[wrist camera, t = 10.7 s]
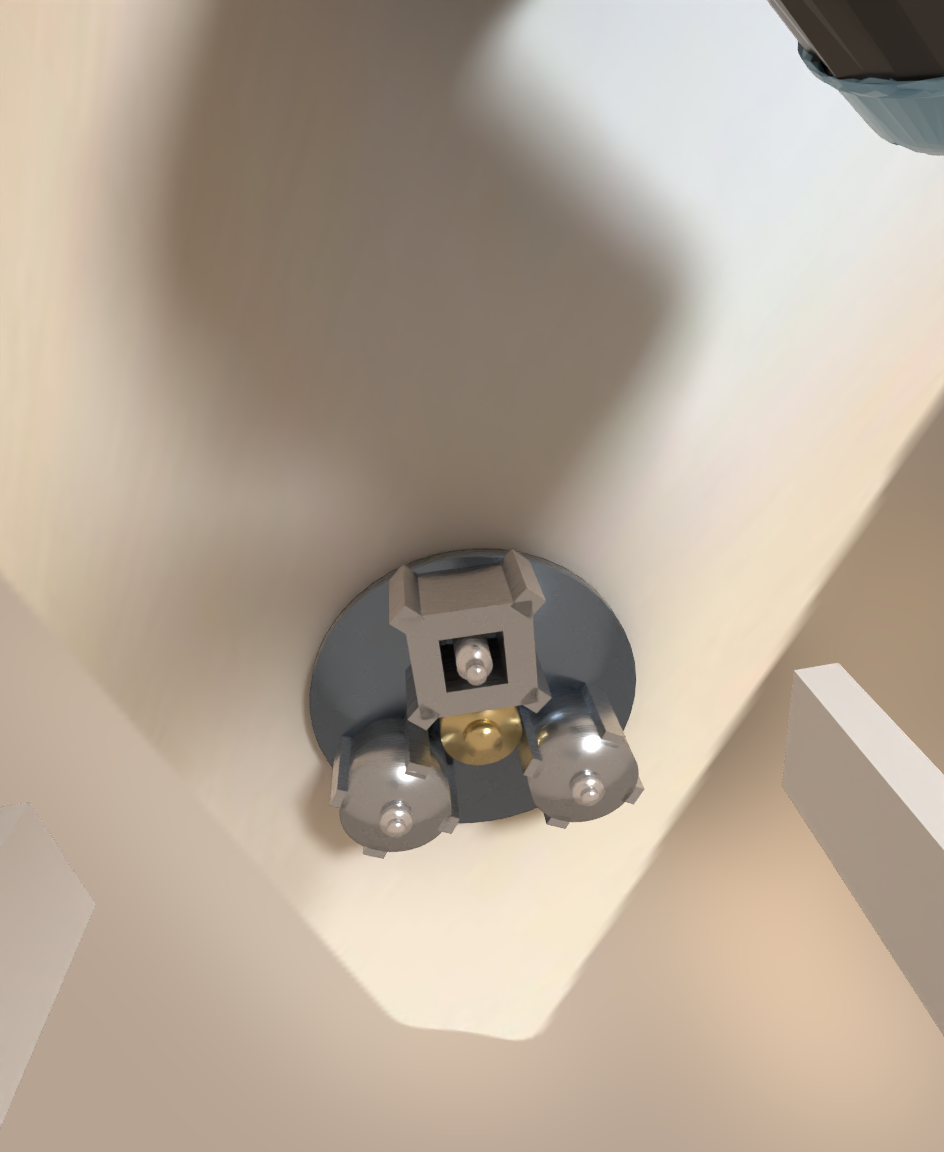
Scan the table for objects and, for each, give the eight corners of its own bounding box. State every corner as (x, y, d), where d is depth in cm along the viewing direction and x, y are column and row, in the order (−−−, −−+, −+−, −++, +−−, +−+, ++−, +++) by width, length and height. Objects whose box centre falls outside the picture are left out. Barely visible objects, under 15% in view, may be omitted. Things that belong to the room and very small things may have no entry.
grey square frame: (386, 566, 41) (386, 608, 37) (528, 546, 42) (544, 585, 37) (407, 682, 45) (409, 732, 41) (536, 663, 46) (552, 710, 41)
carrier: (379, 499, 41) (378, 556, 34) (690, 612, 47) (742, 679, 40) (270, 771, 49) (251, 860, 42) (545, 837, 55) (567, 924, 48)
